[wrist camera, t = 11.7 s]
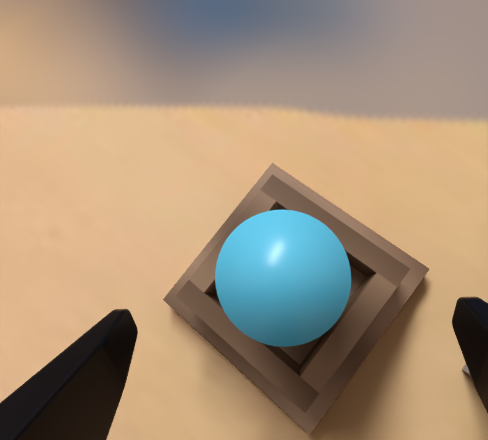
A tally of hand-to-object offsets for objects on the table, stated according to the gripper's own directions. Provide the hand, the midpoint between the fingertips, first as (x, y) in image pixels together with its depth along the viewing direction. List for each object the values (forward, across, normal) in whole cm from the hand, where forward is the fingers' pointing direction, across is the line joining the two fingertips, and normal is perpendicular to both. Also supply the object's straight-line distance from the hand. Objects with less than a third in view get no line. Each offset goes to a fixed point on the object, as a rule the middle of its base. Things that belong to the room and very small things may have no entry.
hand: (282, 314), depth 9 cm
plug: (+7, 0, +5) cm, 8 cm away
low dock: (+7, 0, +6) cm, 9 cm away
